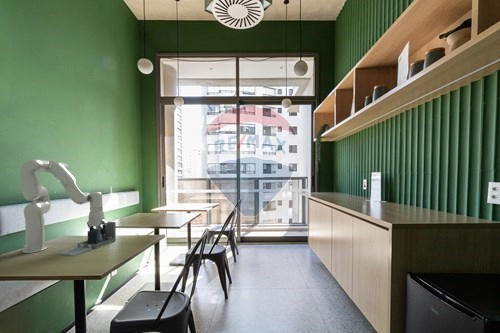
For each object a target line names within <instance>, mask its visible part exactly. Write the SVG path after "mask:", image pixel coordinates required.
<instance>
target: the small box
mask: <svg viewBox="0 0 500 333" xmlns="http://www.w3.org/2000/svg"><path fill="white" fill-rule="evenodd" d="M87 240H88V244H98V243H101V242H104V241H105V234H102V235H101V228H98V227H96V228H94V229H93V230H90V229H89V230H88V231H87Z"/></svg>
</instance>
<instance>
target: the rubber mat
mask: <svg viewBox="0 0 500 333" xmlns="http://www.w3.org/2000/svg"><path fill="white" fill-rule="evenodd" d="M93 249H94V248H85V247H78V246H76V247H72V248H70V249H67V250H64V251H60V252H58V253H57V255H63V256H73V257H74V256H77V255H79V254H83V253H86V252H88V251H91V250H93Z"/></svg>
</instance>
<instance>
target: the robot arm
mask: <svg viewBox="0 0 500 333" xmlns="http://www.w3.org/2000/svg"><path fill="white" fill-rule="evenodd" d="M37 173H48V174H51V175H52V176H53V177H54V178H55V179H56V180H57V181H58V182H59V184H61V186H62V187H63V189H64V192H65V193H66V195H67V196H68V197H69V198H70V200H71V201H72V202H73V203H75V205H84V204H87V203H89V210H90V211H89V213H88V219H87V220H88V221H86V224H87V227H88V229H89V231H90V230H93V229H95V227H98V226H100V227H101V235H102V234H105V228H106V226H107V223H108V222H109V221H107V220H105V214H104V211H103V210H104V208H103V207H104V206H103V205H104V204H103V192H101V191H92V192H87V191H84V192H82V191H81V190H80V189H79V187H78V185H77V183H76V181H77V178H76V177H75V176H74V175H73V174H72V172H70V167H69V165H68V164H67V163H65V162H60V161H59V162H58V161H53V160H48V159H47V160H46V159H39V158H32V159H29V160H27V161H24V162H23V163H22V164H21V166H20V168H19V177H20V183H21V188H22V194H23V198H24V199H25V200H26V201H32V202H29V203H27V204H26V205H25V207H24V208H23V215H24V222H25V225H24V226H25V244H23V246H22V247H25V248H24V249H23V250H22V253H23V254H31V253H32V254H33V253H38V252H42V251H45V250H47V249H48V248H49V246H48V245H45V244H46V242H45V240H46V239H45V237H46V235H45V232H46V231H45V229H46V227H45V217H44V215H45V214H47V213H48V212H49V211H50V210H51V200H50V194H49V190H48V189H47V188H46V187H45V186H44V185H40V183H39V177H38V176H37ZM102 226H103V227H102Z"/></svg>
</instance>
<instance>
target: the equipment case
mask: <svg viewBox="0 0 500 333" xmlns="http://www.w3.org/2000/svg"><path fill="white" fill-rule="evenodd" d="M107 222H108V223H107V226H106V228H105V241H104V242H101V243H98V244H88V239H87V240H85V241H80V242H78V243H77V247H85V248H93V249H98V248H101V247H104V246H106V245H110V244H112V243H114V242H117V238H116V236H117V234H116V232H117V231H116V228H117V227H116V226H117V225H116V221H107ZM102 227H103V226H102ZM97 228H101V227H100V226H97Z"/></svg>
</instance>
